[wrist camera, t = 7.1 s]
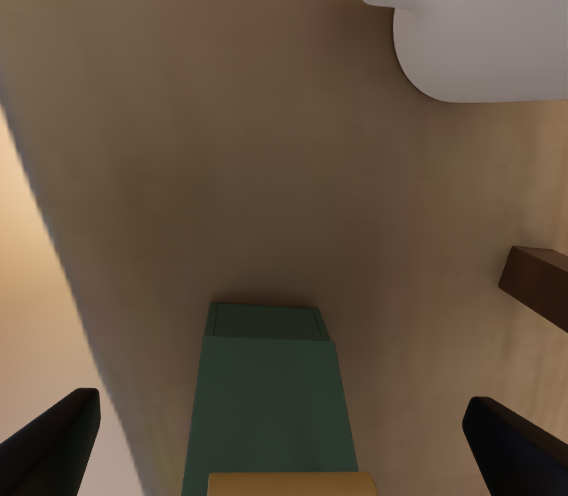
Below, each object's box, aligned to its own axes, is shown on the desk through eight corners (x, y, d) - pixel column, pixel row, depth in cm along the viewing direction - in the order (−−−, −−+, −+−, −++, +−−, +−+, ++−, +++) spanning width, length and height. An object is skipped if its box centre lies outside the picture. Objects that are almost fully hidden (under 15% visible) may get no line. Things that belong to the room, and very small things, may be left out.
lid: (429, 890, 7) (551, 1006, 4) (119, 946, 6) (70, 1123, 4) (331, 347, 16) (354, 291, 14) (203, 341, 15) (204, 281, 13)
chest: (290, 474, 23) (296, 522, 20) (199, 475, 22) (192, 525, 19) (318, 308, 19) (331, 340, 16) (209, 302, 18) (204, 334, 15)
